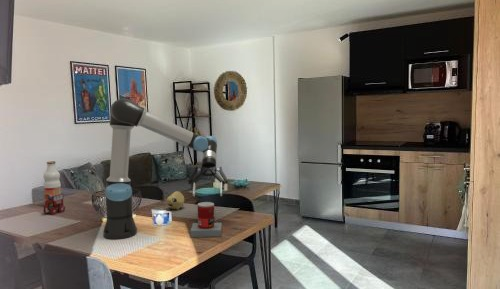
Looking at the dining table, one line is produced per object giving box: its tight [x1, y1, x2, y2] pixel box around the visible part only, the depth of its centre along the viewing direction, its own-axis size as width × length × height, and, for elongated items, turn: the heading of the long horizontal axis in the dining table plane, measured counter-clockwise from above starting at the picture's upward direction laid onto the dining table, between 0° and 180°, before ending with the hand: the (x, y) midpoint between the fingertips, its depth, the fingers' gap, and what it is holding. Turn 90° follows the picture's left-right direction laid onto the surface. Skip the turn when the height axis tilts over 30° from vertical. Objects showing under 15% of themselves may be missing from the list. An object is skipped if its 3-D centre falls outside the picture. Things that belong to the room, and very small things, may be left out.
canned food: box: [197, 201, 215, 229], centre depth 175 cm, size 8×8×11 cm
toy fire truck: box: [42, 193, 66, 215], centre depth 214 cm, size 7×12×10 cm, turn 155°
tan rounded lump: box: [164, 190, 185, 211], centre depth 220 cm, size 10×12×11 cm
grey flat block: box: [190, 222, 223, 238], centre depth 175 cm, size 14×12×3 cm
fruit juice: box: [43, 161, 62, 203], centre depth 231 cm, size 9×9×28 cm
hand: (207, 194), depth 182 cm, fingers open, 13 cm apart
